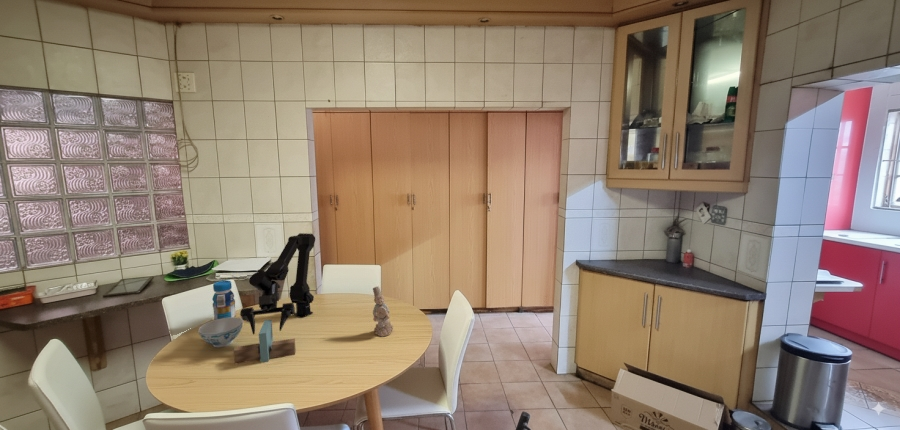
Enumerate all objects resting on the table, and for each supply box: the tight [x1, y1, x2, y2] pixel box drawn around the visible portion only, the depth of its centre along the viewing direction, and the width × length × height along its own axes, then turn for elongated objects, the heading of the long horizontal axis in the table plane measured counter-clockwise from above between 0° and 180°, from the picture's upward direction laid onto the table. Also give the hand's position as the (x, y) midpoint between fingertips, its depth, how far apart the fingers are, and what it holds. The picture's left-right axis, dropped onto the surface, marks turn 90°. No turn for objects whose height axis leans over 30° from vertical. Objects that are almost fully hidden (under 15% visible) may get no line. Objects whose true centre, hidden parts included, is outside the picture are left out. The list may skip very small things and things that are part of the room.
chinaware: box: [198, 316, 244, 348], centre depth 142 cm, size 15×15×8 cm
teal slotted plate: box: [258, 319, 274, 363], centre depth 133 cm, size 12×2×11 cm, turn 18°
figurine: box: [372, 285, 394, 337], centre depth 150 cm, size 9×8×20 cm
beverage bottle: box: [212, 280, 237, 320], centre depth 157 cm, size 8×8×20 cm
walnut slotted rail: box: [233, 338, 297, 364], centre depth 131 cm, size 20×3×5 cm, turn 108°
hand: (267, 332), depth 135 cm, fingers open, 9 cm apart
